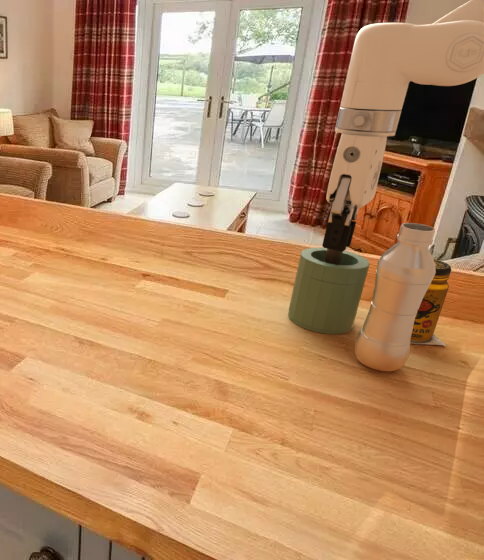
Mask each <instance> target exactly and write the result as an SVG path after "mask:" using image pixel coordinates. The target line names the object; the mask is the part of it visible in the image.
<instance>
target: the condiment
mask: <svg viewBox="0 0 484 560" xmlns="http://www.w3.org/2000/svg"><path fill="white" fill-rule="evenodd" d="M433 260H434V262H435V269H436V273H435V275H434V278H433V280H432V282H431V284H430V286H429V288H428V289H427V291H426V293H425V295H424V297H423V299H422V302H421V304H420V307H419V309H418V310H417V314H416V317H415V320H414V325H413V330H412V334H411V339H410V340H411V342H410V345H413V344H415V345H428V346H433V345H434V346H435V345H437V346H447V344H446V343H444V342H443V341H442V340H441V339H440V338H439V337H437V336H436V335H435V331H436V327H437V325H438V322H439V318H440V316H441V313H442V309H443V306H444V303H445V300H446V297H447V295H448V291H449V288H450V285H449V283H448V281H449V280H450V275H451V273H452V267H451V265H450V264H449V263H447V262H445V261H442V260H439V259H434V258H433Z"/></svg>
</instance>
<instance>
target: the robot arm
mask: <svg viewBox="0 0 484 560" xmlns="http://www.w3.org/2000/svg"><path fill="white" fill-rule="evenodd" d="M351 51H352V52H351V56H350V61H349V64H348V69H347V74H346V79H345V83H344V88H343V91H342V96H341V101H340V105H339V111H338V114H337V119H336V123H335V127H334V132H335V133H338V134H341V135H340V138H339V142H338V144H337V145H338V146H337V147H336V153H335V156H334V160H333V164H332V168H331V172H330V176H329V182H328V184H327V189H326V195H325V196H326V197H325V198H326V199H325V200H326V201H327V203H328V204H331V208H330V213H329V215H328V219H327V223H326V227H325V232H324V237H323V240H322V245H321V246H322V248H327V249H332V250H337V251H341V252H343V251H347V248H348V247H350V246H351V244H352V240H353V237H354V232H355V229H356V225H357V218H358V214H359V210H360V209H361V208H363V207H365V206H366V205H368V204H369V203H370V202H371V201H372V200H374V198H375V196H376V193H377V187H378V184H379V180H380V179H379V178H380V174H381V170H382V166H383V162H384V161H383V160H384V157H385V151H386V146H387V141H388V137H395V136H396V132H397V129H398V125H399V122H400V118H401V114H402V109H403V106H404V103H405V100H406V99H405V98H406V96H407V92H408V89H409V85H410V83H411V82H413V83H414V84H419V85H423V86H424V85H426V86H427V85H428V86H431V85H432V86H437V87H438V86H439V87H453V86H454V87H455V86H459V85H464V84H467V83H469V82H472V81H474V80H476V79H477V78H479V77H481V76H482V75H484V0H468V1H467V2H465V3H463V4H461V5H460V6H458V7H457V8H455V9H453V10H452V11H450V12H449V13H447V14H444V16H442V17H440V18H438V19H436V21H434V22H433V23H427V24H415V23H410V22H377V23H371V24H368V25H365V26H363V27H362V28H360V30H359V31H358V32H357V34H356V35H355V38H354V43H353V47H352V50H351ZM347 211H348V212H347Z"/></svg>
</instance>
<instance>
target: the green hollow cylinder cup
mask: <svg viewBox="0 0 484 560" xmlns="http://www.w3.org/2000/svg"><path fill="white" fill-rule="evenodd" d="M326 251H327V248H324V247H318V246H317V247H309V248H308V247H307V248H305V249H303V250H302V251H300V255H299V259H298V263H297V269H296V273H295V278H294V282H293V288H292V291H291V297H290V302H289V307H288V313H287V316H288V318H289V319H290V321H291V322H293V323H294V324H295V325H296V326H299V327H301V328H303V329H306V330H308V331H311V332H314V333H319V334H324V335H325V334H326V335H342V334H346V333H348V332H350V331H352V330H353V326H354V323H355V321H356V318H357V317H356V316H357V312H358V310H359V306H360V301H361V298H362V295H363V290H364V288H365V283H366V279H367V275H368V272H369V269H370V265H371V264H370V262H369V260H368V259H367V258H365V257H364V256H362V255H360V254H357V253H355V252H351V251H348V250H345V251H343V253H342V257H341V260H340V264H339V265H335V264H329V263H325V262H324V260H325V256H326Z"/></svg>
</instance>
